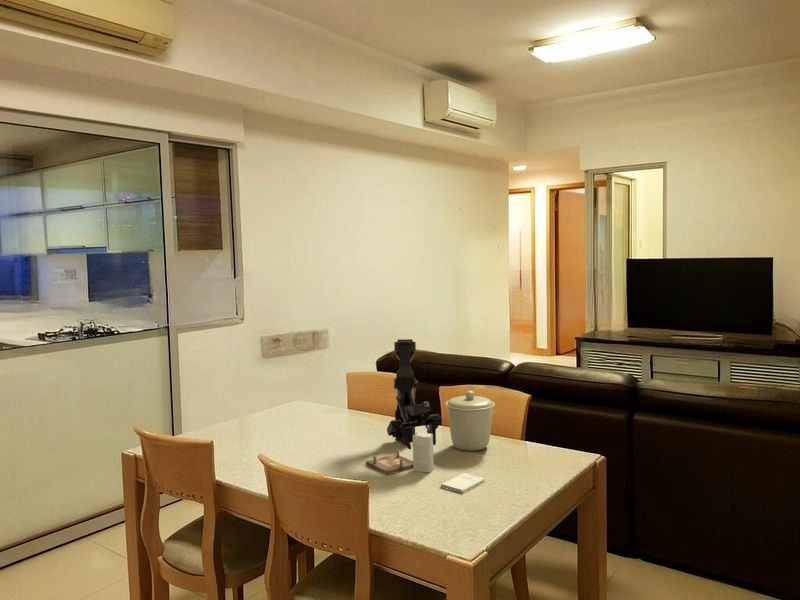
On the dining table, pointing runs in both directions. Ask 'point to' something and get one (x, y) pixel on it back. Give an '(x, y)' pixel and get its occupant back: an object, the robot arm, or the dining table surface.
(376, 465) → the pin nest board
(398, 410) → the robot arm
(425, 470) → the skincare box
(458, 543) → the dining table surface
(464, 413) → the canister
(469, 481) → the external hard drive
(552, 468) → the dining table surface
